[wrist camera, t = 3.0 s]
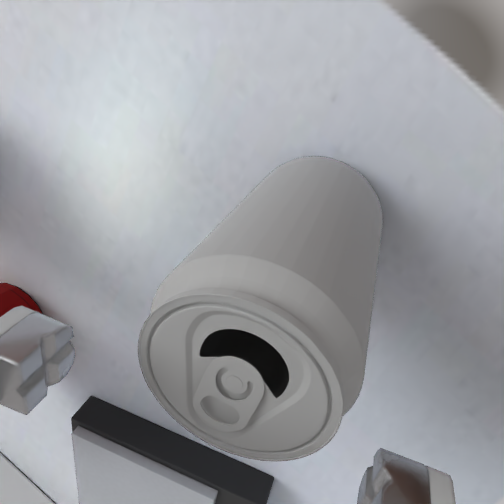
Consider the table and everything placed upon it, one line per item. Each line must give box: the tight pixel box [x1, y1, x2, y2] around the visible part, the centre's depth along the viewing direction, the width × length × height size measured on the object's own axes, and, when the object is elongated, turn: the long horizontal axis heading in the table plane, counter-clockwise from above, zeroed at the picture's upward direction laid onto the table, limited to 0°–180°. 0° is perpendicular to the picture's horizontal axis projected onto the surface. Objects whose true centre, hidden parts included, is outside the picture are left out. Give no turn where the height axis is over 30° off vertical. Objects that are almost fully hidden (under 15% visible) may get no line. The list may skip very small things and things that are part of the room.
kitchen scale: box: [71, 396, 274, 504], centre depth 35 cm, size 17×13×3 cm
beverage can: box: [138, 156, 383, 461], centre depth 15 cm, size 6×6×12 cm
